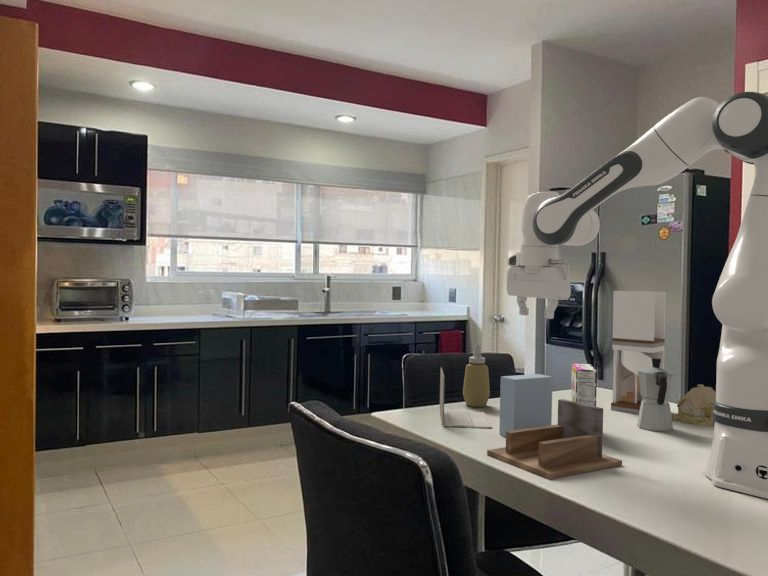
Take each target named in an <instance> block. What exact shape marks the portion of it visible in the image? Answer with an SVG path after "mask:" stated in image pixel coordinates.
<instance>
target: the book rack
mask: <svg viewBox="0 0 768 576" xmlns="http://www.w3.org/2000/svg"><path fill="white" fill-rule="evenodd" d="M603 434H604V408H603V407H599V406H596V407H595V406H591V405H586V404H582V403H578V402H574V401H571V400H569V399H565V398H560V399H559V398H558V401H557V424H551V426H543V427H535V428H528V429H520V430H513V431H506V437H505V447H504V446H503V447H498V448H492V449H491V448H490V449H486V456H489V457H492V458H494V459H496V460H499V461H502V462H505V463H508V464H509V465H512V466H515V467H517V468H519V469H522V470H525V471H527V472H530V473H532V474H535V475H537V476H540V477H542V478H544V479H548V480H553V479H558V478H564V477H569V476H572V475H573V476H574V475H578V474H584V473H589V472H590V473H591V472H593V471H600V470H604V469H611V468H615V466H616V467H620V465H621V466H623V460H622V459H619V458H616V457H613V456H610V455H607V454H604V453H603V440H604V439H603V438H604V437H603V436H604V435H603ZM610 467H611V468H610Z"/></svg>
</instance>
